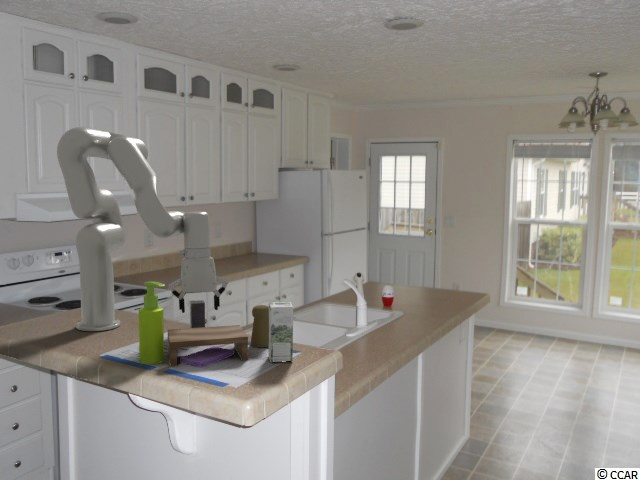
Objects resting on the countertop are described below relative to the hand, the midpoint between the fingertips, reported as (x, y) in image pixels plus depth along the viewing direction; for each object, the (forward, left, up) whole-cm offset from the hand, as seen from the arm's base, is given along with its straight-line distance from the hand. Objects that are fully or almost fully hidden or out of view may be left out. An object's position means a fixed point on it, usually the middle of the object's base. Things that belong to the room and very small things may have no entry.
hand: (199, 310), depth 169 cm
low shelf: (+24, -1, -6) cm, 25 cm away
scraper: (+6, -1, -6) cm, 9 cm away
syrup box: (+32, +17, -7) cm, 37 cm away
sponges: (+26, -1, -7) cm, 27 cm away
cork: (+18, +15, -7) cm, 24 cm away
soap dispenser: (+25, -14, -7) cm, 29 cm away
